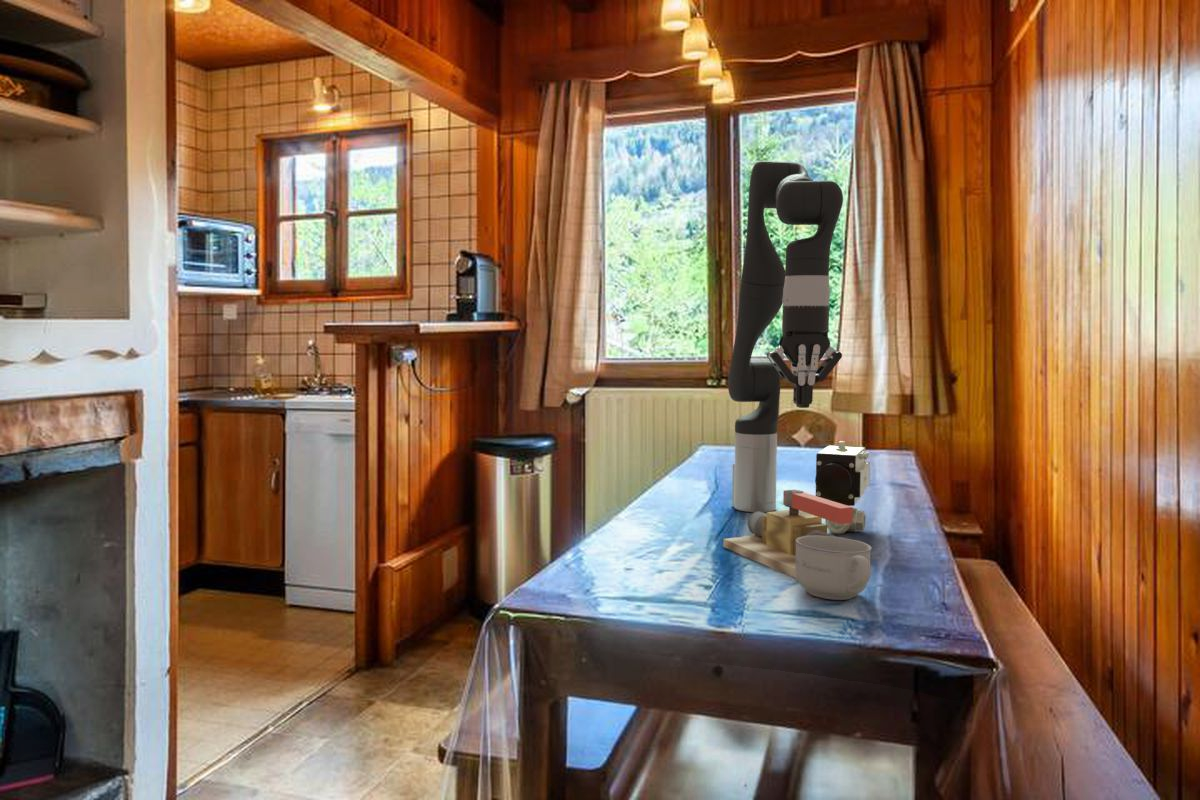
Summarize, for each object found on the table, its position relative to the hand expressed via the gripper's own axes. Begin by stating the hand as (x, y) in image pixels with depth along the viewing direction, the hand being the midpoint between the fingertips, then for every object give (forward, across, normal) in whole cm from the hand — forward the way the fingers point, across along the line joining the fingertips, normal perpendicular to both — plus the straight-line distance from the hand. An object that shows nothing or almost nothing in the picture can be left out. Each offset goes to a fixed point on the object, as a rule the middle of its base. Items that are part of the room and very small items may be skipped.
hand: (802, 407), depth 131 cm
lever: (+17, +1, -4) cm, 18 cm away
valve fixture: (+26, 0, +2) cm, 27 cm away
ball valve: (+27, +17, +18) cm, 37 cm away
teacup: (+26, -2, -20) cm, 33 cm away
